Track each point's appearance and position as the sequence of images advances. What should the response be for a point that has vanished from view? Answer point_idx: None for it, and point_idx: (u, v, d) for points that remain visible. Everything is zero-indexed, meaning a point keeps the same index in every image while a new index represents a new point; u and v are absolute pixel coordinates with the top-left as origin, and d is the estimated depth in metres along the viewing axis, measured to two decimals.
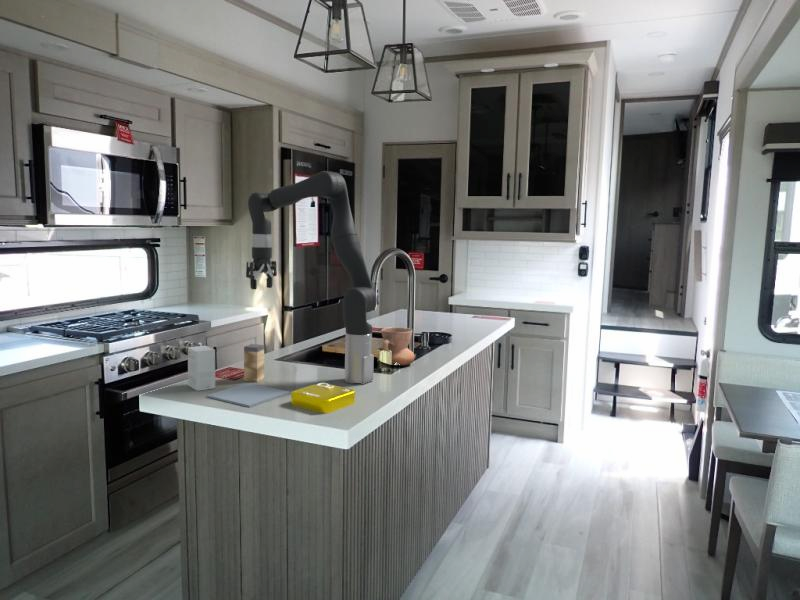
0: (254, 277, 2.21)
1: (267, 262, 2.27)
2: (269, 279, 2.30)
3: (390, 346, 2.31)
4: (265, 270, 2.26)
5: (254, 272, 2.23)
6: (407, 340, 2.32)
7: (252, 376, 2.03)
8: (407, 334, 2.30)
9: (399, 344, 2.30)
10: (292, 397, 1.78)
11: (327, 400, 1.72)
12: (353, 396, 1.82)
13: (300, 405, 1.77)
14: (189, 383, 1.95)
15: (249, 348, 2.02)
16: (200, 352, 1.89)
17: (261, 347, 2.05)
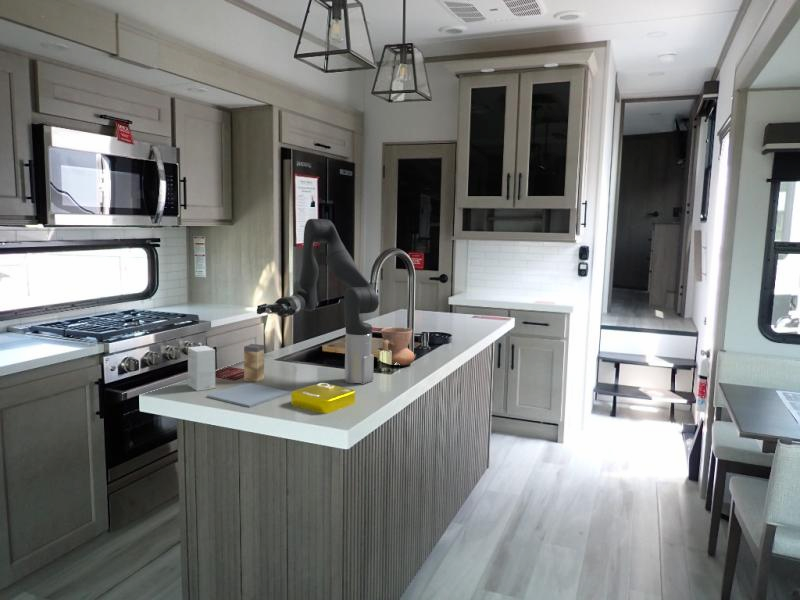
0: (261, 306, 2.19)
1: (285, 305, 2.23)
2: None
3: (390, 346, 2.31)
4: (279, 306, 2.20)
5: (266, 308, 2.21)
6: (407, 340, 2.32)
7: (252, 376, 2.03)
8: (407, 334, 2.30)
9: (399, 344, 2.30)
10: (292, 397, 1.78)
11: (327, 400, 1.72)
12: (353, 396, 1.82)
13: (300, 405, 1.77)
14: (189, 383, 1.95)
15: (249, 348, 2.02)
16: (200, 352, 1.89)
17: (261, 347, 2.05)
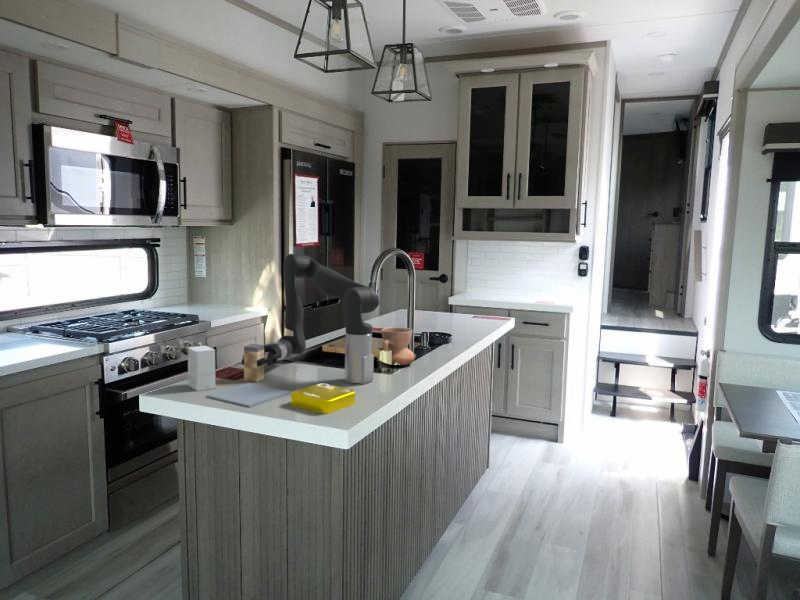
0: None
1: (270, 353, 2.12)
2: None
3: (390, 346, 2.31)
4: None
5: None
6: (407, 340, 2.32)
7: (252, 376, 2.03)
8: (407, 334, 2.30)
9: (399, 344, 2.30)
10: (292, 397, 1.78)
11: (327, 401, 1.71)
12: (353, 397, 1.81)
13: (300, 406, 1.76)
14: (189, 383, 1.95)
15: (249, 348, 2.02)
16: (200, 352, 1.89)
17: (261, 347, 2.05)
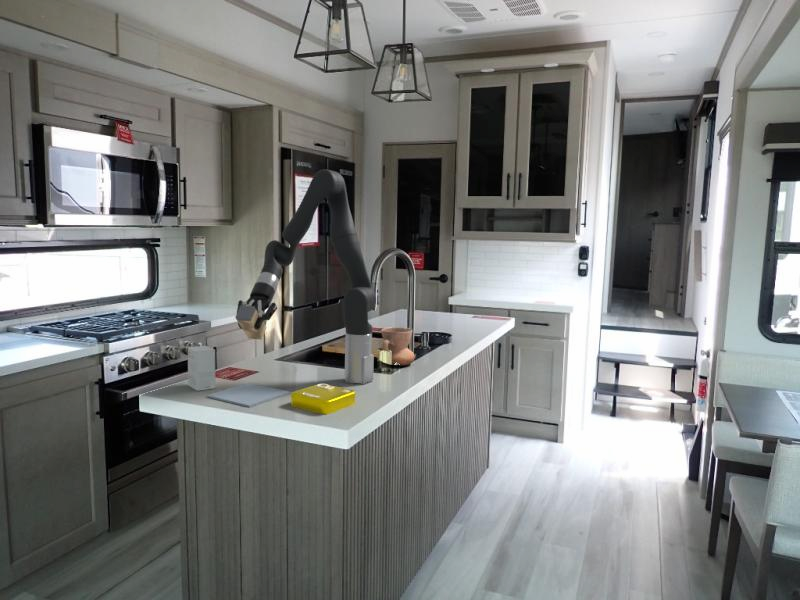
0: None
1: (263, 300, 2.00)
2: None
3: (390, 346, 2.31)
4: (255, 307, 1.99)
5: None
6: (407, 340, 2.32)
7: (255, 336, 1.98)
8: (407, 334, 2.30)
9: (399, 344, 2.30)
10: (292, 398, 1.77)
11: (328, 401, 1.71)
12: (353, 397, 1.81)
13: (300, 406, 1.76)
14: (189, 383, 1.95)
15: (241, 318, 1.91)
16: (200, 352, 1.89)
17: (252, 311, 1.92)
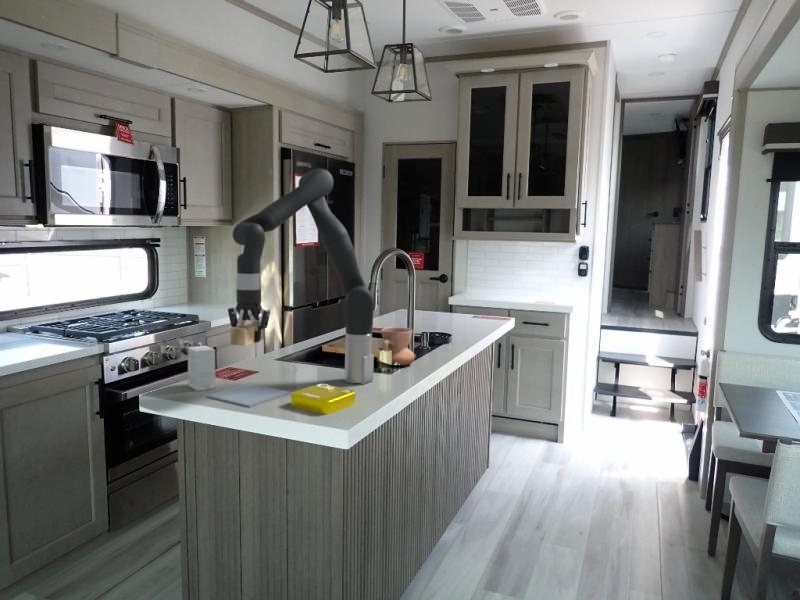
0: None
1: None
2: None
3: (390, 346, 2.31)
4: None
5: (258, 321, 1.84)
6: (407, 340, 2.32)
7: None
8: (407, 334, 2.30)
9: (399, 344, 2.30)
10: (292, 398, 1.77)
11: (328, 401, 1.71)
12: (353, 397, 1.81)
13: (300, 406, 1.75)
14: (189, 383, 1.95)
15: None
16: (200, 352, 1.89)
17: None
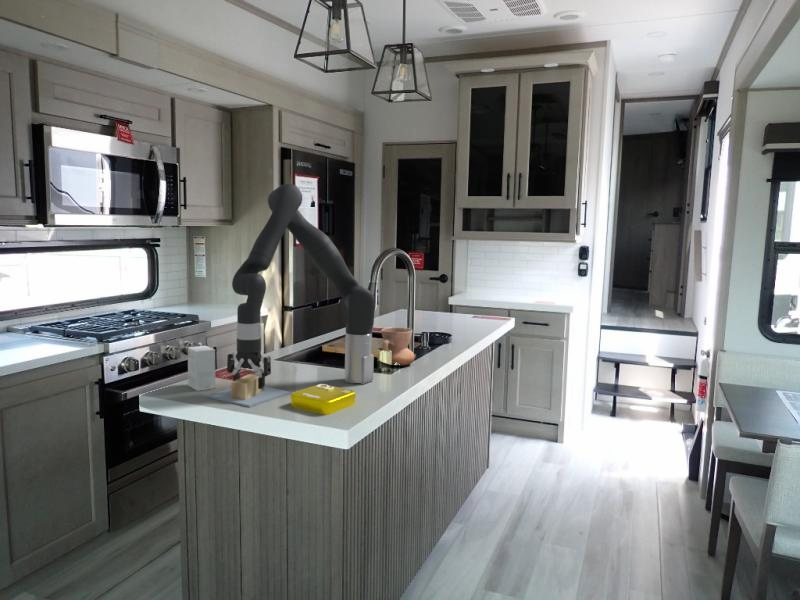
0: None
1: None
2: (238, 375, 1.88)
3: (390, 346, 2.31)
4: None
5: (260, 368, 1.85)
6: (407, 340, 2.32)
7: None
8: (407, 334, 2.30)
9: (399, 344, 2.30)
10: (292, 398, 1.77)
11: (328, 401, 1.71)
12: (353, 397, 1.80)
13: (300, 407, 1.75)
14: (189, 383, 1.95)
15: None
16: (200, 352, 1.89)
17: None
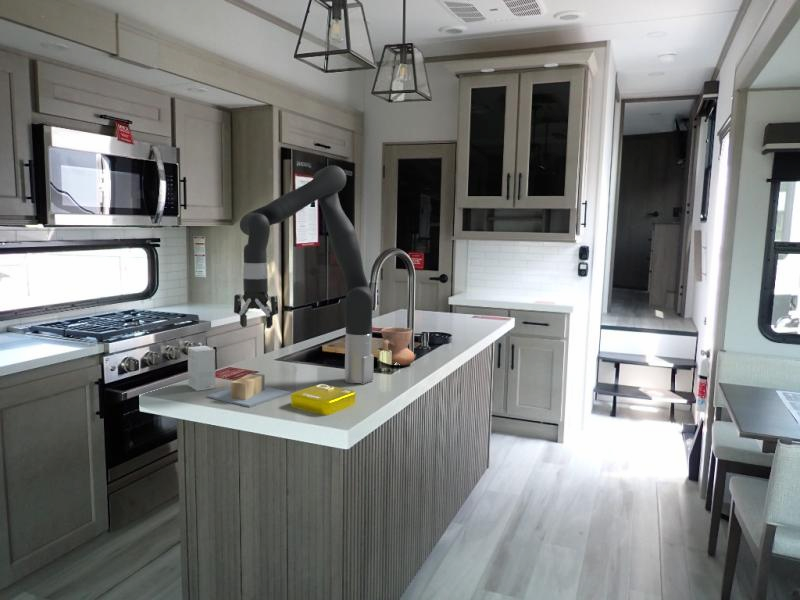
0: None
1: None
2: (245, 316, 1.90)
3: (390, 346, 2.31)
4: None
5: (267, 308, 1.88)
6: (407, 340, 2.32)
7: None
8: (407, 334, 2.30)
9: (399, 344, 2.30)
10: (292, 398, 1.76)
11: (328, 402, 1.70)
12: (353, 397, 1.80)
13: (300, 407, 1.75)
14: (189, 383, 1.95)
15: None
16: (200, 352, 1.89)
17: None
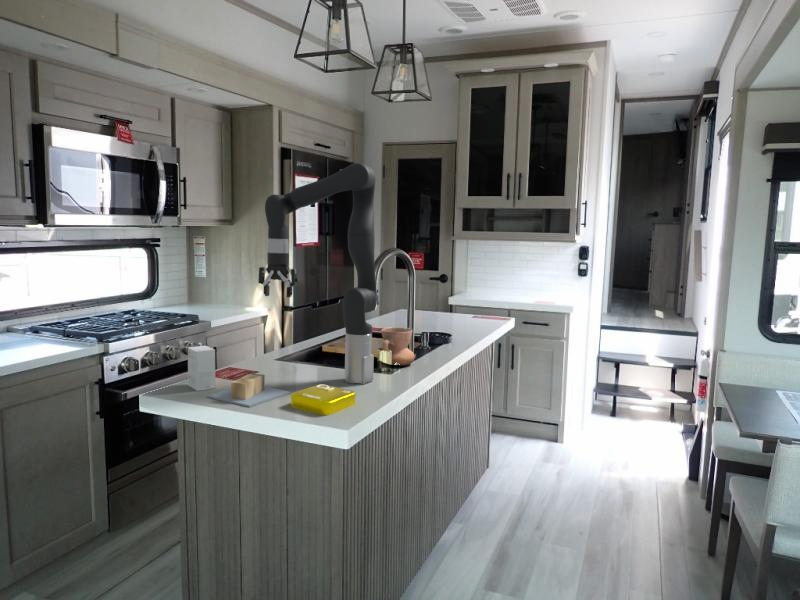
0: None
1: None
2: (268, 286, 2.14)
3: (390, 346, 2.31)
4: None
5: (288, 279, 2.11)
6: (407, 340, 2.32)
7: None
8: (407, 334, 2.30)
9: (399, 344, 2.30)
10: (292, 399, 1.76)
11: (328, 402, 1.70)
12: (353, 398, 1.80)
13: (300, 407, 1.75)
14: (189, 383, 1.95)
15: None
16: (200, 352, 1.89)
17: None
